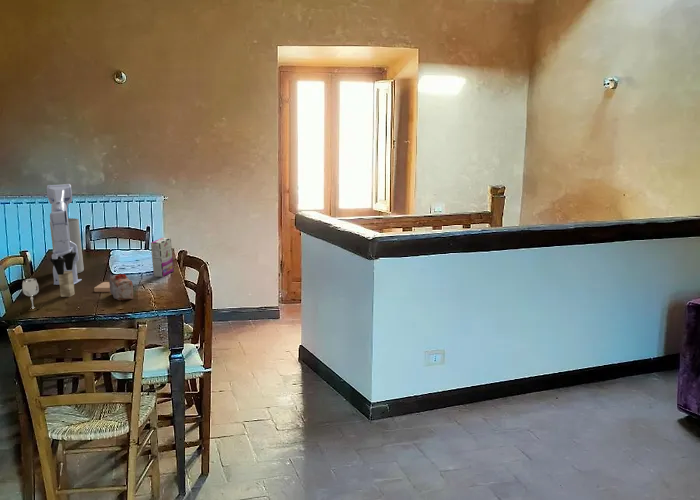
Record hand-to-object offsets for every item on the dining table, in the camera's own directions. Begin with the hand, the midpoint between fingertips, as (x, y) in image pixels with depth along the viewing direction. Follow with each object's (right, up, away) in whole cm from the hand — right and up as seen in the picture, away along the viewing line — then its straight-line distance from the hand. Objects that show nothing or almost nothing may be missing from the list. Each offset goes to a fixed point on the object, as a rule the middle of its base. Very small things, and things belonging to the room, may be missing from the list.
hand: (65, 272), depth 275 cm
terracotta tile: (+10, -7, +11) cm, 16 cm away
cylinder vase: (-15, -2, +41) cm, 44 cm away
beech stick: (0, -10, +2) cm, 10 cm away
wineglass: (-5, -14, -17) cm, 23 cm away
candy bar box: (+31, -2, +34) cm, 47 cm away
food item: (+24, -11, -2) cm, 26 cm away
